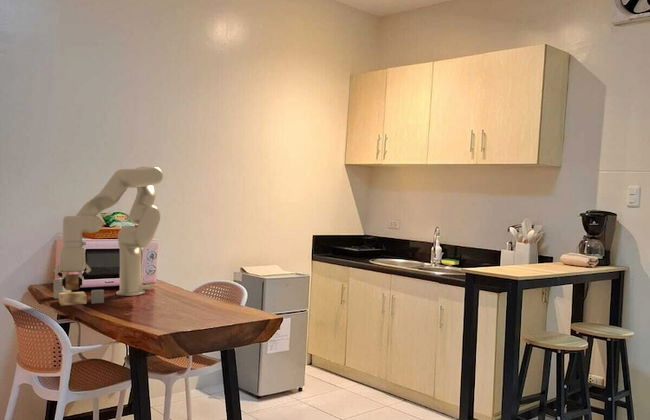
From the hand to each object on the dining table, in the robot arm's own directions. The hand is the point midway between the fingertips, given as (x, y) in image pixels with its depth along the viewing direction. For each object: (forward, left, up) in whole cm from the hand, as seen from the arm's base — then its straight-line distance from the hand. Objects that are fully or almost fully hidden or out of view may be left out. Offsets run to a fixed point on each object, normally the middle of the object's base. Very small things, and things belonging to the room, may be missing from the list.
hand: (72, 287), depth 248 cm
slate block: (-10, +2, -7) cm, 12 cm away
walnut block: (0, 0, -1) cm, 1 cm away
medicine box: (+5, -15, -7) cm, 17 cm away
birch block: (0, 0, -7) cm, 7 cm away
